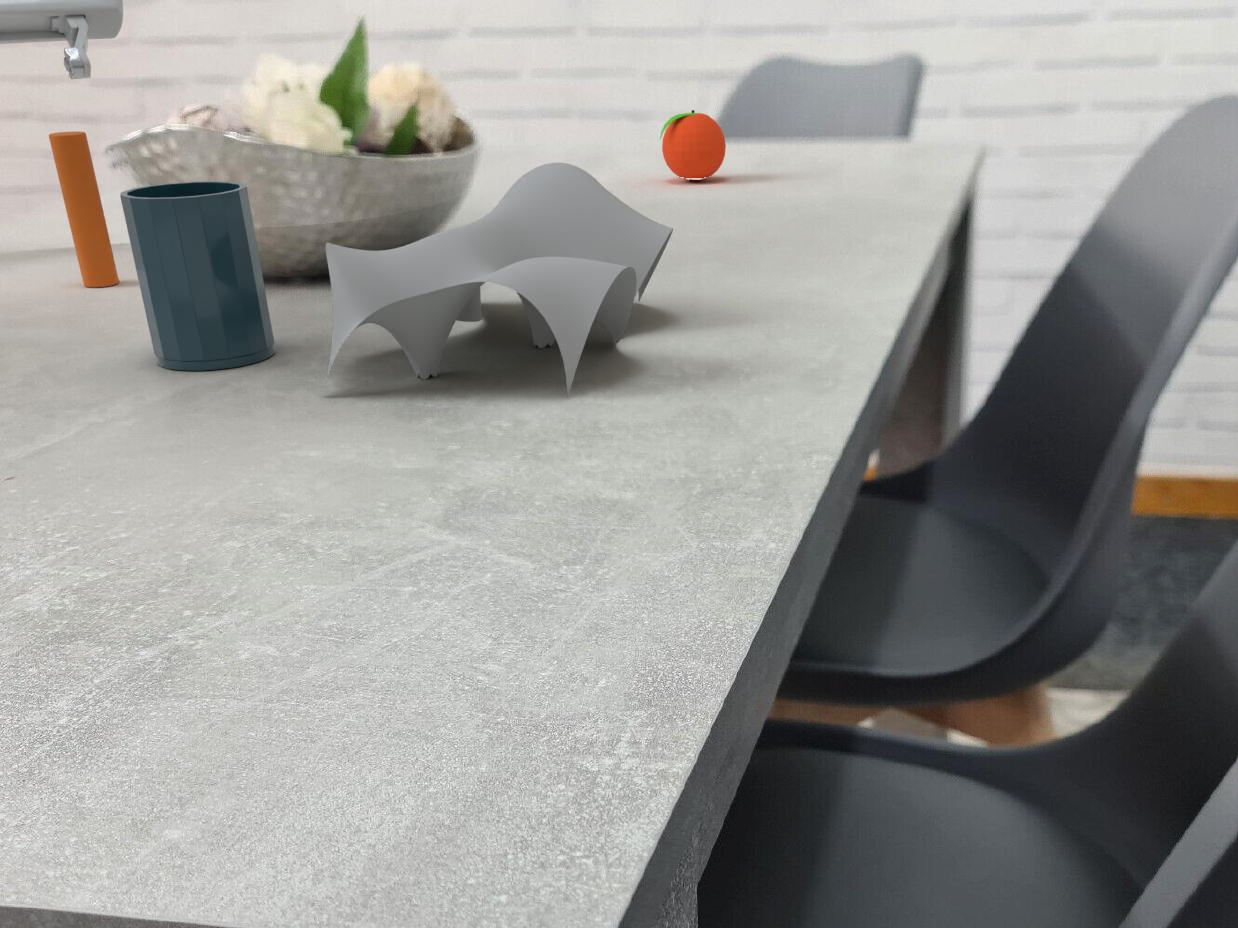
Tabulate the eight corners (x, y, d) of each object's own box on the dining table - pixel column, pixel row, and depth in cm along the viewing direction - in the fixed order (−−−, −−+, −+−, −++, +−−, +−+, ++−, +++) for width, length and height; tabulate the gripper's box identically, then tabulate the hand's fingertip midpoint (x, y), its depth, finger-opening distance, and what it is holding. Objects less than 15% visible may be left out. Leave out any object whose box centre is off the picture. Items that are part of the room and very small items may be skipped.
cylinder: (83, 288, 112) (47, 135, 106) (84, 282, 114) (49, 132, 108) (119, 285, 112) (84, 133, 107) (119, 279, 115) (86, 130, 109)
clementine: (681, 188, 152) (678, 115, 149) (642, 182, 157) (639, 111, 154) (739, 180, 157) (738, 109, 153) (700, 174, 161) (698, 105, 158)
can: (157, 376, 87) (119, 202, 82) (156, 350, 93) (120, 186, 88) (279, 363, 89) (249, 192, 85) (271, 338, 95) (242, 178, 90)
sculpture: (630, 399, 81) (619, 216, 76) (304, 397, 82) (273, 218, 78) (688, 303, 102) (682, 156, 98) (429, 303, 104) (411, 159, 99)
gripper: (-197, -96, 107) (-131, 54, 105) (86, -96, 118) (151, 39, 116) (-186, -27, 113) (-124, 116, 110) (83, -34, 123) (145, 97, 121)
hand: (19, 77), depth 113 cm, fingers open, 8 cm apart
